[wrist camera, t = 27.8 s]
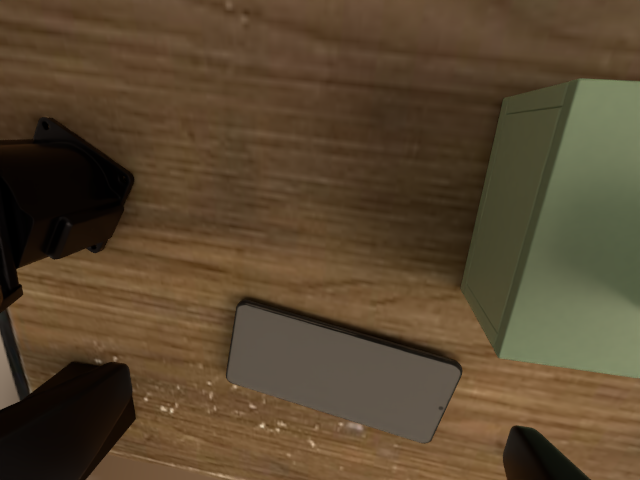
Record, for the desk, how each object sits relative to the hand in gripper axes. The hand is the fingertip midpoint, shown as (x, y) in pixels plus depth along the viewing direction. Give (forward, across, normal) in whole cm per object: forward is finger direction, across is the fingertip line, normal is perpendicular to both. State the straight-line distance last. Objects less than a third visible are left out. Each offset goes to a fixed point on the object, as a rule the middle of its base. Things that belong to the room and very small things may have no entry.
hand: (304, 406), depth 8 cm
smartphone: (+13, 0, +10) cm, 16 cm away
